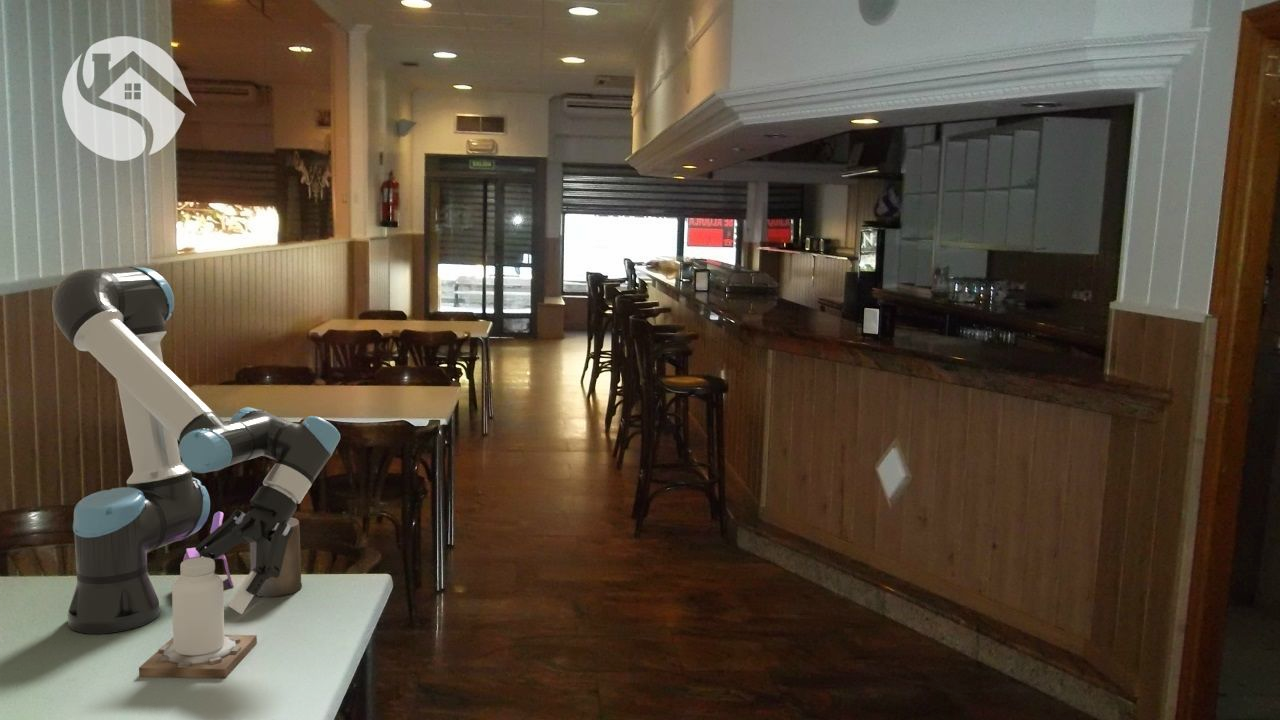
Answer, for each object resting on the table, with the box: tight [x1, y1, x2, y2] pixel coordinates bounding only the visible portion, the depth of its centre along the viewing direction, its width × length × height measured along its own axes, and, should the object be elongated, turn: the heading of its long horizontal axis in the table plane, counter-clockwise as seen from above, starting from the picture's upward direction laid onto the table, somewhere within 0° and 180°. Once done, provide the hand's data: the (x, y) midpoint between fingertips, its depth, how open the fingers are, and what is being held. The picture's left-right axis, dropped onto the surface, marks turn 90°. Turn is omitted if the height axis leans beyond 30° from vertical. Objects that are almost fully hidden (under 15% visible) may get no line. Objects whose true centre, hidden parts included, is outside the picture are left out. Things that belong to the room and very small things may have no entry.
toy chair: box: [182, 511, 234, 589], centre depth 210 cm, size 8×9×15 cm
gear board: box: [138, 634, 258, 679], centre depth 177 cm, size 14×14×2 cm
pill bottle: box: [171, 557, 225, 656], centre depth 176 cm, size 8×8×15 cm
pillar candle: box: [249, 517, 303, 598], centre depth 209 cm, size 10×10×15 cm
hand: (209, 601), depth 177 cm, fingers open, 13 cm apart
